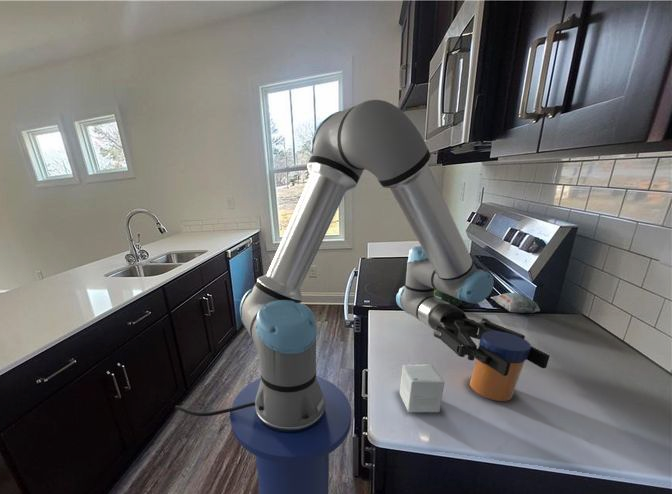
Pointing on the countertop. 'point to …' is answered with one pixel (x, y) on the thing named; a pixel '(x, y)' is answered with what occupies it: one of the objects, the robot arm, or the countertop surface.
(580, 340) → the countertop surface
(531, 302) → the packaged food
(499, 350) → the lid
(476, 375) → the jam jar
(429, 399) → the product box
